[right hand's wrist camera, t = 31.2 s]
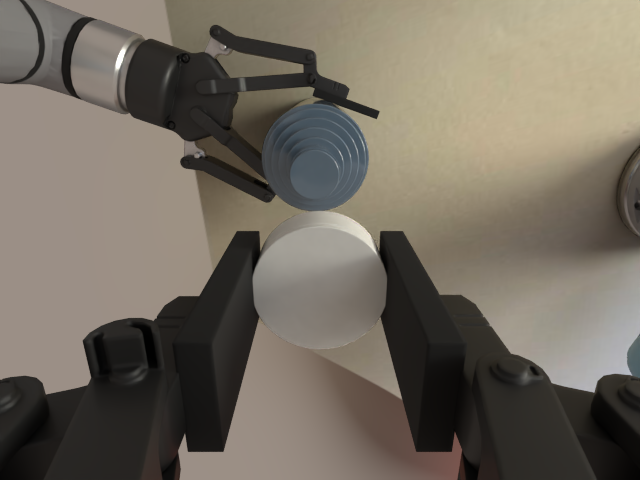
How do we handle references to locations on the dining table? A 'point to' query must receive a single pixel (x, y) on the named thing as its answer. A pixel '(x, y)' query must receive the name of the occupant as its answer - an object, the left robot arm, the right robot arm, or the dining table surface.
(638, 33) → the dining table surface
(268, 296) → the cap
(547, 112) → the dining table surface
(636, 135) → the dining table surface
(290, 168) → the bottle
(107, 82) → the left robot arm
